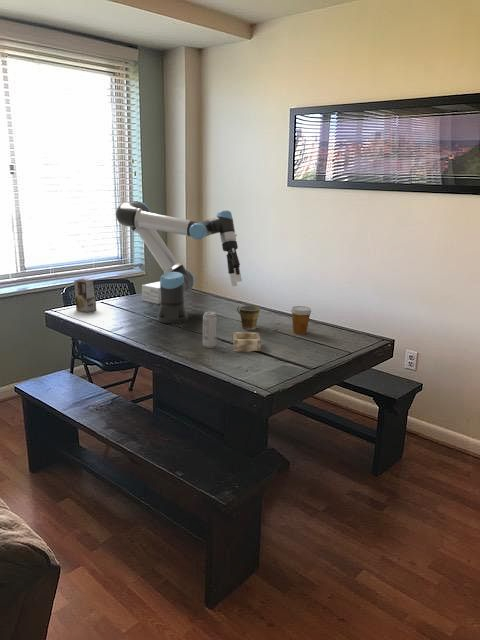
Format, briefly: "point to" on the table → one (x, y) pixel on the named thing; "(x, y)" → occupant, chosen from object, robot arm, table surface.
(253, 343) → the wooden box
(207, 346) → the energy drink can
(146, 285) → the supplement box
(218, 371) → the table surface
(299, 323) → the disposable coffee cup
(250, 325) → the ceramic cup
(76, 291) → the coffee box
